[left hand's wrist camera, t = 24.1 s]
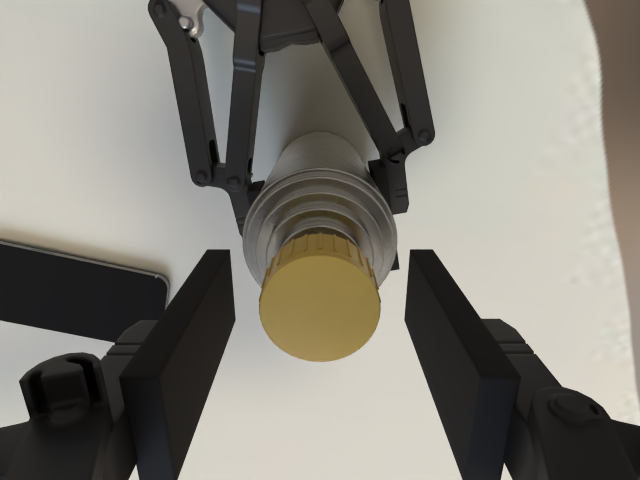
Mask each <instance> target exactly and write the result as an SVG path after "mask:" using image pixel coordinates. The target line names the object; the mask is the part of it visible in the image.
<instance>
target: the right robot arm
mask: <svg viewBox="0 0 640 480" xmlns="http://www.w3.org/2000/svg"><path fill="white" fill-rule="evenodd" d="M376 1H379V12H380V19H381V25H382V29H383V34H384V38H385V43H386V47H387V52H388V56H389V61H390V66H391V70H392V75H393V79H394V84H395V88H396V93H397V97H398V102H399V107H400V111H401V116H402V120H403V125H404V128H403V129H401V130H399V131H398V132H395V130H394V128H393V126H392V124H391V122H390V120H389V118H388V116H387V114H386V112H385V110H384V108H383V106H382V104H381V102H380V100H379V98H378V96H377V94H376V92H375V90H374V88H373V86H372V84H371V82H370V80H369V78H368V76H367V74H366V72H365V70H364V68H363V66H362V64H361V62H360V60H359V59H358V57H357V55H356V53H355V51H354V49H353V47H352V45H351V42H350V39H349V37H348V35H347V32H346V30H345V28H344V26H343V25H342V23H341V21H340V19H339V17H338V13H339V11H340V9H341V6H342V4H343V2H344V0H150V1H149V4H148V11H149V14H150V17H151V18H152V20H153V22H154V24H155V26H156V28H157V30H158V32H159V34H160V35H161V37H162V39H163V41H164V43H165V45H166V47H167V50H168V56H169V61H170V67H171V72H172V77H173V83H174V88H175V93H176V99H177V104H178V110H179V115H180V120H181V126H182V131H183V137H184V142H185V147H186V153H187V158H188V163H189V169H190V174H191V179H192V181H193V182H194V184H195V185H197V186H199V187H205V186H212V187H218V188H222V189H224V190H225V191H226V192H227V193H228V194H229V196H230V199H231V203H232V206H233V210H234V214H235V218H236V221H237V224H238V229H239V233H240V235H241V236H242V237H243V228H244V224H245V220H246V217H247V215H248V212H249V210H250V208H251V206H252V204H253V203H254V201H255V199H256V198H257V196H258V194H259V192H260V191H261V189H262V187H263V185H264V184H265V180H263V181H257V182H253V183H252V182H251V177H252V175H253V173H252V163H253V154H254V145H255V135H256V126H257V117H258V108H259V98H260V89H261V80H262V72H263V69H264V62H265V53H269V52H274V51H279V50H281V49H282V48H284V47H286V46H288V45H290V44H301V45H308V44H313V43H318V42H319V40H320V42H321V44H322V46H323V48H324V50H325V52H326V54H327V55H328V57H329V59H330V60H331V62H332V64H333V66H334V68H335V70H336V72H337V74H338V76H339V77H340V79H341V81H342V83H343V85H344V87H345V89H346V91H347V93H348V94H349V96H350V98H351V100H352V102H353V104H354V106H355V108H356V110H357V111H358V113H359V115H360V117H361V119H362V121H363V123H364V125H365V127H366V129H367V130H368V132H369V134H370V136H371V138H372V140H373V142H374V144H375V146H376V147H377V149H378V151H379V154H380V159H377V160H371V161H368V165H369V172H370V175H371V177H372V179H373V180H374V182H375V184H376V186H377V187H378V189H379V191H380V192H381V194H382V196H383V198H384V199H385V201H386V203H387V205H388V206H389V208H390V211H391V213H392V215H394V214H400V213H405V212H407V209H408V206H409V200H408V191H407V182H406V173H405V160H406V158H407V156H408V155H409V154H410V153H411V152H413V151H414V150H416V149H418V148H420V147H421V146H427V145H429V144H430V143H431V142H432V141H433V140H434V137H435V130H434V125H433V120H432V115H431V110H430V105H429V99H428V94H427V89H426V84H425V79H424V74H423V69H422V64H421V59H420V53H419V48H418V43H417V38H416V33H415V28H414V23H413V18H412V13H411V7H410V2H409V0H376ZM208 7H209V8H210V9H211V10H212V11H213V12H214V13H215V14H216V15H217V16H218V17H219V18H220V19H221V20H222V21H223V22H224V23H225V24H226V25H227V26H228V27H229V28H230V29H231V30H232V31H233V32H234V33H235V36H234V48H233V66H234V71H233V82H232V94H231V106H230V117H229V129H228V141H227V153H226V164H225V163H220V159H219V153H218V147H217V140H216V134H215V128H214V121H213V115H212V109H211V103H210V96H209V90H208V84H207V78H206V71H205V65H204V59H203V54H202V50H201V47H200V44H199V41H198V39H197V38H199V37H200V36H201V35H202V33H203V31H204V25H203V21H202V15H203V12H204V11H205V9H207V8H208ZM398 269H399V262H398V254H397V251H396V255H395V259H394V263H393V265H392V268H391V270H390V271H392V270H398Z"/></svg>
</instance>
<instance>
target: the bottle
mask: <svg viewBox="0 0 640 480" xmlns="http://www.w3.org/2000/svg"><path fill="white" fill-rule="evenodd" d="M319 233H322V234H328V235H333V234H335V235H336V236H337V237H340V238H342V239H345V240H347V239H348V240H349V242H350V243H352V244H353V245H354V246H356V247H357V248H358V247H359V248H360V250H361V252H362V253H363V254H364V256H365V257H366V258H367V257H368V259H369V262H370V266H371V269H373V270H374V274H375V277H376V280H377V284H378V287H379V286H380V285H381V284H382V283H383V281H384V280H385V279H386V277H387V275H388V274H389V272H390V270H391V268H392V265H393V263H394V259H395V255H396V251H397V230H396V224H395V221H394V218H393V215H392V213H391V211H390V208H389V206H388V205H387V203H386V201H385V199H384V198H383V196H382V194H381V192H380V191H379V189H378V187H377V186H376V184H375V182H374V180H373V179H372V177H371V175H370V173H369V172H368V170H367V168H366V166H365V165H364V163H363V161H362V160H361V158H360V156H359V154H358V153H357V151H356V150H355V148H354V147H353V146H352V145H351V144H350V143H349V142H348V141H347V140H345V139H344V138H342V137H340V136H338V135H336V134H333V133H329V132H311V133H307V134H304V135H302V136H300V137H298V138H296V139H295V140H293V141H292V142H291V143H290V144H289V145H288V146H287V147H286V148H285V150H284V151H283V153H282V154H281V156H280V158H279V160H278V161H277V163H276V165H275V166H274V168H273V170H272V172H271V173H270V175H269V177H268V179H267V180H266V182H265V184H264V185H263V187H262V189H261V191H260V192H259V194H258V196H257V198H256V199H255V201H254V203H253V204H252V206H251V208H250V210H249V212H248V215H247V217H246V220H245V224H244V228H243V237H242V239H243V251H244V257H245V260H246V263H247V266H248V268H249V270H250V272H251V274H252V276H253V277H254V279H255V280H256V282H257V283H258V284H259V285H260V287H261V286H262V283H263V279H264V276H265V273H266V269H267V268H269V266H270V262H271V259H272V257H275V255H276V254H277V253H278V252H279V251H280V248H281V247H284V246H285V245H287V244H288V243H290V242H291V240H292V239H294V240H295V239H297V238H300V237H303V236H305V234H307V235H312V234H319Z"/></svg>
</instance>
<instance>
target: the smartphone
mask: <svg viewBox="0 0 640 480" xmlns="http://www.w3.org/2000/svg"><path fill="white" fill-rule="evenodd" d="M168 294H169V283H168V281H167V279H166V278H165V277H163V276H162V275H159V274H155V273H150V272H146V271H141V270H136V269H131V268H127V267H122V266H117V265H112V264H108V263H103V262H98V261H93V260H88V259H84V258H79V257H74V256H69V255H65V254H60V253H55V252H50V251H46V250H41V249H36V248H31V247H27V246H22V245H17V244H12V243H7V242H3V241H0V320H1V321H6V322H12V323H17V324H22V325H27V326H32V327H37V328H43V329H48V330H53V331H58V332H63V333H68V334H73V335H79V336H84V337H89V338H94V339H99V340H104V341H110V342H116V341H117V340H118V338H119V337H120V336H121V335H122V333H123V332H124V331H125V330H126V329H128V328H129V327H131V326H132V325H134V324H136V323H137V322H139V321H140V320H159V318H160V317H161V315H162V314H163V312H164V311H165V310H166V308H167V302H168Z"/></svg>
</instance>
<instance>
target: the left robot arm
mask: <svg viewBox="0 0 640 480" xmlns="http://www.w3.org/2000/svg"><path fill="white" fill-rule="evenodd" d="M234 323H235V308H234V295H233V283H232V271H231V258H230V250H207V251H206V252H205V254H204V255H203V256H202V258H201V259H200V261H199V262H198V264H197V265H196V267H195V268H194V269H193V271H192V272H191V274H190V275H189V277H188V278H187V279H186V281H185V282H184V284H183V285H182V287H181V288H180V289H179V291H178V292H177V294H176V295H175V297H174V298H173V300H172V301H171V302H170V304H169V305H168V307H167V308H166V310H165V311H164V312H163V314H162V315H161V317H160V318H159V320H140V321H139V322H137V323H136V324H134V325H132V326H131V327H129V328H128V329H126V330H125V331H124V332H123V333H122V335H121V336H120V337H119V338H118V340H117V341H116V342H115V345H113V346H112V347H111V348H110V349H109V351H108V352H107V355H106V356H104V357H103V358H102V359H101V361H100V359H98V358H97V357H96V356H95V355H93V354H88V353H83V352H82V353H69V354H65V355H61V356H57V357H53V358H51V359H49V360H46V361H44V362H42V363H40V364H38V365H36V366H35V367H34V368H32V369H31V370H29V371H28V372H26V374H25V375H24V376H23V377H22V378H21V379H20V381H19V383H20V386H21V390H22V393H23V396H24V400H25V403H26V406H27V409H28V413H29V416H30V419H29V421H27V422H24V423H20V424H16V425H11V426H7V427H2V428H0V480H128V479H129V477H130V475H131V473H132V471H133V469H134V467H135V465H137V470H138V475H139V480H177V479H178V477H179V474H180V471H181V468H182V466H183V463H184V460H185V457H186V455H187V452H188V449H189V446H190V444H191V441H192V438H193V435H194V433H195V430H196V427H197V424H198V422H199V419H200V416H201V413H202V411H203V408H204V405H205V402H206V400H207V397H208V394H209V391H210V389H211V386H212V383H213V380H214V378H215V375H216V372H217V369H218V367H219V364H220V361H221V358H222V356H223V353H224V350H225V347H226V345H227V342H228V339H229V336H230V334H231V331H232V328H233V325H234ZM405 323H406V325H407V328H408V331H409V334H410V336H411V339H412V342H413V345H414V347H415V350H416V353H417V356H418V358H419V361H420V364H421V367H422V369H423V372H424V375H425V378H426V380H427V383H428V386H429V389H430V391H431V394H432V397H433V400H434V402H435V405H436V408H437V411H438V413H439V416H440V419H441V422H442V424H443V427H444V430H445V433H446V435H447V438H448V441H449V444H450V446H451V449H452V452H453V455H454V457H455V460H456V463H457V466H458V468H459V471H460V474H461V477H462V479H463V480H501V475H502V470H503V465H504V463H505V465H506V467H507V469H508V471H509V473H510V475H511V477H512V479H513V480H640V426H637V425H633V424H628V423H624V422H619V421H616V420H612V419H611V418H610V417H609V415H608V414H607V412H606V411H605V410H604V408H603V407H602V406H600V405H599V404H598V403H597V402H595V401H594V400H593V399H592V398H590V397H588V396H586V395H584V394H582V393H580V392H578V391H575V390H571V389H568V388H564V387H562V386H561V385H560V383H559V382H558V381H557V380H556V378H555V377H554V376H553V375H552V374H551V372H550V371H549V370H548V369H547V367H546V366H545V365H544V364H543V362H542V361H541V360H540V359H539V357H538V356H537V355H536V354H534V351H533V350H532V349H531V348H530V346H529V345H528V344H526V343H525V340H524V339H523V338H522V337H521V335H520V334H519V333H518V332H517V330H516V329H514V328H513V327H511V326H510V325H508V324H507V323H505V322H504V321H502V320H501V319H481V318H480V317H479V315H478V314H477V312H476V311H475V310H474V308H473V307H472V305H471V304H470V302H469V301H468V300H467V298H466V297H465V295H464V294H463V292H462V291H461V289H460V288H459V287H458V285H457V284H456V282H455V281H454V279H453V278H452V277H451V275H450V274H449V272H448V271H447V269H446V268H445V267H444V265H443V264H442V262H441V261H440V259H439V258H438V256H437V255H436V254H435V252H434V251H433V250H410V258H409V271H408V283H407V295H406V308H405Z"/></svg>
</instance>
